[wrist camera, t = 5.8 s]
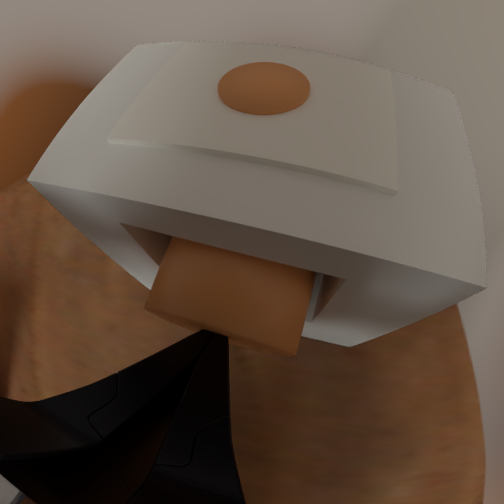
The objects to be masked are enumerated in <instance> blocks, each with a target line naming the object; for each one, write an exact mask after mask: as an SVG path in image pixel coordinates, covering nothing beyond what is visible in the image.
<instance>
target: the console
mask: <svg viewBox="0 0 504 504" xmlns="http://www.w3.org/2000/svg"><path fill="white" fill-rule="evenodd" d="M27 181H28V182H29V183H30V184H31V185H32V186H33V187H34V188H35V189H36V190H37V191H38V192H39V193H40V194H41V195H42V196H43V197H44V198H45V199H46V200H47V201H48V202H49V203H50V204H52V205H53V206H54V207H55V208H56V209H57V210H58V211H59V212H60V213H61V214H62V215H63V216H64V217H65V218H66V219H67V220H68V221H69V222H71V223H72V224H73V225H74V226H75V227H76V228H77V229H78V230H79V231H80V232H82V233H83V234H84V235H85V236H86V237H87V238H88V239H89V240H91V241H92V242H93V243H94V244H95V245H96V246H97V247H99V248H100V249H101V250H102V251H103V252H104V253H106V254H107V255H108V256H109V257H110V258H111V259H113V260H114V261H115V262H116V263H117V264H119V265H120V266H121V267H122V268H124V269H125V270H126V271H127V272H128V273H130V274H131V275H132V276H133V277H135V278H136V279H137V280H138V281H140V282H141V283H142V284H143V285H145V286H146V287H147V288H149V289H150V290H151V288H152V285H153V282H154V280H155V277H156V275H157V272H158V269H159V267H160V264H161V262H162V259H163V257H164V254H165V252H166V249H167V247H168V245H169V242H170V240H171V237H172V236H175V237H179V238H183V239H186V240H190V241H194V242H198V243H202V244H206V245H210V246H214V247H218V248H222V249H226V250H230V251H234V252H238V253H242V254H246V255H250V256H254V257H258V258H262V259H266V260H270V261H274V262H278V263H282V264H286V265H290V266H294V267H298V268H303V269H307V270H311V271H315V272H316V277H315V281H314V286H313V290H312V294H311V299H310V303H309V307H308V311H307V315H306V319H305V323H304V327H303V331H302V335H301V336H303V337H308V338H312V339H316V340H320V341H325V342H329V343H334V344H338V345H343V346H347V347H351V346H354V345H357V344H360V343H363V342H366V341H368V340H371V339H374V338H377V337H379V336H382V335H384V334H387V333H390V332H392V331H395V330H397V329H400V328H402V327H405V326H407V325H409V324H412V323H414V322H417V321H419V320H421V319H424V318H426V317H428V316H430V315H433V314H435V313H437V312H439V311H441V310H444V309H446V308H448V307H450V306H452V305H454V304H456V303H458V302H460V301H462V300H464V299H466V298H468V297H470V296H472V295H474V294H476V293H478V292H480V291H482V290H484V289H486V288H487V267H486V266H487V265H486V247H485V234H484V224H483V216H482V208H481V202H480V195H479V189H478V183H477V177H476V172H475V167H474V163H473V158H472V154H471V150H470V146H469V142H468V138H467V134H466V131H465V127H464V124H463V121H462V117H461V114H460V111H459V108H458V105H457V102H456V99H455V96H454V93H453V92H451V91H448V90H446V89H444V88H441V87H439V86H436V85H434V84H431V83H429V82H426V81H424V80H421V79H418V78H416V77H413V76H410V75H407V74H404V73H401V72H398V71H395V70H391V69H388V68H385V67H382V66H378V65H375V64H371V63H367V62H364V61H360V60H355V59H352V58H347V57H343V56H338V55H334V54H329V53H324V52H318V51H313V50H307V49H301V48H294V47H287V46H278V45H269V44H259V43H245V42H224V41H189V42H188V41H187V42H166V43H152V44H142V45H137V46H136V47H135V48H134V49H133V50H132V51H130V52H129V53H128V54H127V55H126V56H125V57H124V58H123V59H122V60H121V61H120V62H119V63H118V64H117V65H116V66H115V67H114V68H113V69H112V70H111V71H110V72H109V73H108V74H107V75H106V77H104V79H103V80H102V81H101V82H100V83H99V84H98V85H97V86H96V87H95V88H94V90H93V91H92V92H91V93H90V94H89V95H88V96H87V97H86V99H85V100H84V101H83V102H82V103H81V105H80V106H79V107H78V108H77V110H76V111H75V112H74V113H73V114H72V116H71V117H70V118H69V119H68V121H67V122H66V123H65V125H64V126H63V127H62V129H61V130H60V131H59V133H58V134H57V136H56V137H55V138H54V140H53V141H52V143H51V144H50V145H49V147H48V148H47V150H46V151H45V153H44V154H43V156H42V157H41V159H40V160H39V162H38V163H37V165H36V166H35V168H34V170H33V171H32V173H31V174H30V176H29V178H28V179H27Z"/></svg>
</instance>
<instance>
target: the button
mask: <svg viewBox="0 0 504 504" xmlns="http://www.w3.org/2000/svg"><path fill="white" fill-rule="evenodd" d="M315 277H316V272H315V271H311V270H307V269H303V268H298V267H294V266H290V265H286V264H282V263H278V262H274V261H270V260H266V259H262V258H258V257H254V256H250V255H246V254H242V253H238V252H234V251H230V250H226V249H222V248H218V247H214V246H210V245H206V244H202V243H198V242H194V241H190V240H186V239H183V238H179V237H175V236H172V237H171V240H170V242H169V245H168V247H167V249H166V252H165V254H164V257H163V259H162V262H161V264H160V267H159V269H158V272H157V275H156V277H155V280H154V282H153V285H152V288H151V290H150V293H149V296H148V299H147V301H146V304H145V307H144V309H145V310H147V311H148V312H150V313H152V314H154V315H156V316H158V317H160V318H162V319H164V320H166V321H169V322H171V323H173V324H176V325H178V326H181V327H183V328H186V329H189V330H191V331H194V332H198V331H200V330H202V329H205V330H208V331H212V332H214V333H215V334H217V333H218V334H221V335H225V336H228V338H229V343H230V344H234V345H237V346H241V347H245V348H248V349H252V350H256V351H261V352H265V353H270V354H275V355H280V356H287V357H295V356H296V354H297V350H298V346H299V342H300V339H301V335H302V331H303V327H304V323H305V319H306V315H307V311H308V307H309V303H310V299H311V294H312V290H313V286H314V281H315Z"/></svg>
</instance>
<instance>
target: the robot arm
mask: <svg viewBox="0 0 504 504" xmlns="http://www.w3.org/2000/svg"><path fill="white" fill-rule="evenodd" d="M0 504H246V502H245V499H244V495H243V491H242V487H241V483H240V479H239V475H238V470H237V466H236V462H235V457H234V451H233V445H232V435H231V419H230V381H229V338H228V336H225V335H221V334H218V333H217V334H215V333H214V332H212V331H208V330H205V329H202V330H200V331H198V332H196V333H194V334H192V335H190V336H188V337H186V338H184V339H182V340H181V341H179V342H177V343H175V344H173V345H171V346H169V347H167V348H165V349H163V350H161V351H159V352H157V353H155V354H153V355H151V356H149V357H147V358H145V359H143V360H141V361H139V362H137V363H135V364H133V365H131V366H129V367H127V368H125V369H123V370H121V371H119V372H118V374H117V373H114V374H112V375H110V376H108V377H106V378H104V379H102V380H99V381H97V382H95V383H92V384H90V385H87V386H84V387H81V388H79V389H76V390H73V391H70V392H66V393H63V394H60V395H57V396H54V397H50V398H47V399H44V400H40V401H34V402H22V401H17V400H12V399H8V398H4V397H0Z"/></svg>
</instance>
